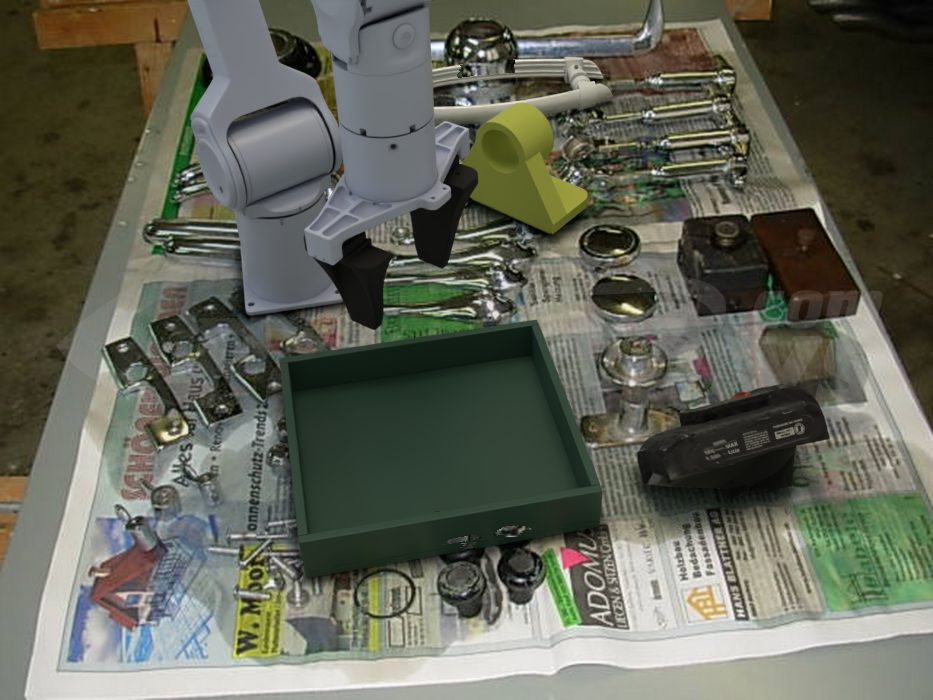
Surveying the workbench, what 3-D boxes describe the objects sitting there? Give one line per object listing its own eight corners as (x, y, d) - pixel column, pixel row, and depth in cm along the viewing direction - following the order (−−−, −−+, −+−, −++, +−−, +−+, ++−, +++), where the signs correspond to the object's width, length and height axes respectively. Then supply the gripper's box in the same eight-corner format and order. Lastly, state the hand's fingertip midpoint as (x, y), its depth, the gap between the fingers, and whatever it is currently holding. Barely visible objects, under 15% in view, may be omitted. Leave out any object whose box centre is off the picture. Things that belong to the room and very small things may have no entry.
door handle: (362, 92, 116) (595, 68, 119) (370, 141, 109) (619, 114, 111) (360, 69, 114) (596, 45, 117) (368, 117, 107) (620, 90, 110)
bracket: (592, 214, 99) (598, 114, 92) (552, 246, 95) (555, 145, 89) (492, 172, 104) (491, 75, 97) (451, 201, 101) (447, 103, 94)
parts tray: (285, 393, 83) (278, 357, 80) (536, 354, 85) (537, 318, 83) (306, 578, 70) (299, 543, 68) (600, 527, 72) (603, 491, 70)
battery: (810, 479, 77) (776, 384, 78) (859, 469, 69) (820, 363, 70) (649, 529, 76) (617, 431, 77) (680, 525, 68) (644, 416, 69)
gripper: (364, 191, 60) (383, 375, 69) (508, 79, 69) (508, 255, 78) (265, 154, 63) (296, 334, 72) (416, 51, 72) (426, 223, 81)
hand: (400, 291), depth 75 cm, fingers open, 7 cm apart
